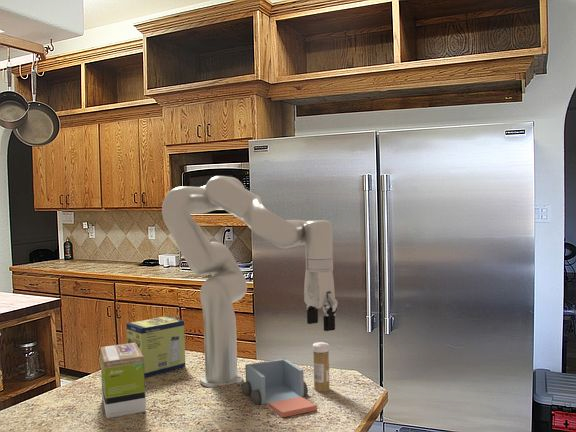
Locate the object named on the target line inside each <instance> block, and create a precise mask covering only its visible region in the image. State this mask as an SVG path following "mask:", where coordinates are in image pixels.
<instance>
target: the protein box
mask: <svg viewBox="0 0 576 432" xmlns="http://www.w3.org/2000/svg"><path fill="white" fill-rule="evenodd" d="M125 327H126V344H128V343H135V342H136V344H137V346H138V347H139V349H140V351H141V353H142V355H143V357H144V377H145V378H146V379H147V378H149V377H150V378H151V377H154V376H157V374H158V375H161V373H162V374H165V372H166V373H169V371H170V372H173V371H177V370H180V369H179V368H181V369H184V368H183V367H185V368H186V342H185V341H186V338H185V337H186V336H185V320H183V319H179V318H176V317H173V316H169V315H165V316H160V317H155V318H150V319H144V320H140V321H139V320H138V321H132V322H127V323H126V326H125ZM176 369H177V370H176ZM172 370H173V371H172ZM153 375H154V376H153Z"/></svg>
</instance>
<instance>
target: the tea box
mask: <svg viewBox="0 0 576 432" xmlns="http://www.w3.org/2000/svg"><path fill="white" fill-rule="evenodd" d="M99 351H100V352H99V354H100V371H101V372H100V373H101V375H100V376H101V377H100V378H101V395H102V403H103V408H104V413H105V417H106V419H110V418H116V417H122V416H128V415H134V414H140V413H145V412H146V410H147V408H146V407H147V405H146V403H147V402H146V382H145V381H146V379H145V377H144V357H143V355H142V353H141V351H140V349H139V347H138V346H137V344H136V342H135V343H128V344H127V343H122V344H114V345H113V344H112V345H108V346H107V345H106V346H100V348H99Z"/></svg>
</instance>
